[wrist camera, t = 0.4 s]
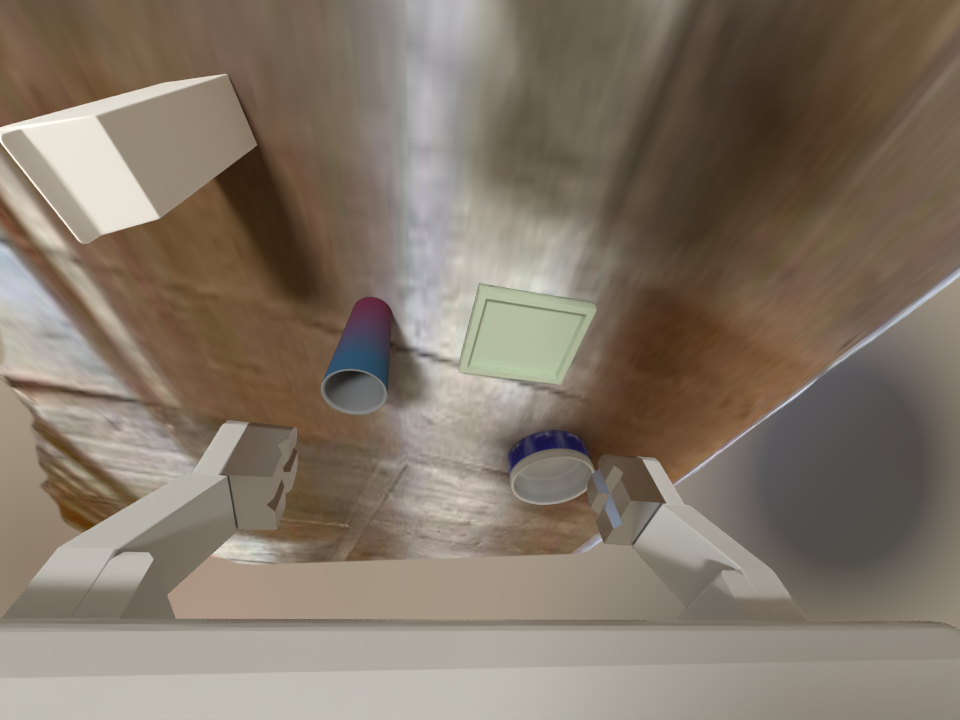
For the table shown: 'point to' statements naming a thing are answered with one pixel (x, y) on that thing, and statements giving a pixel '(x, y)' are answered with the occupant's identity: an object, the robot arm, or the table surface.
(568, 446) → the dog bowl
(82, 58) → the table surface
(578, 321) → the tray
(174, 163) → the milk
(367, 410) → the cup
